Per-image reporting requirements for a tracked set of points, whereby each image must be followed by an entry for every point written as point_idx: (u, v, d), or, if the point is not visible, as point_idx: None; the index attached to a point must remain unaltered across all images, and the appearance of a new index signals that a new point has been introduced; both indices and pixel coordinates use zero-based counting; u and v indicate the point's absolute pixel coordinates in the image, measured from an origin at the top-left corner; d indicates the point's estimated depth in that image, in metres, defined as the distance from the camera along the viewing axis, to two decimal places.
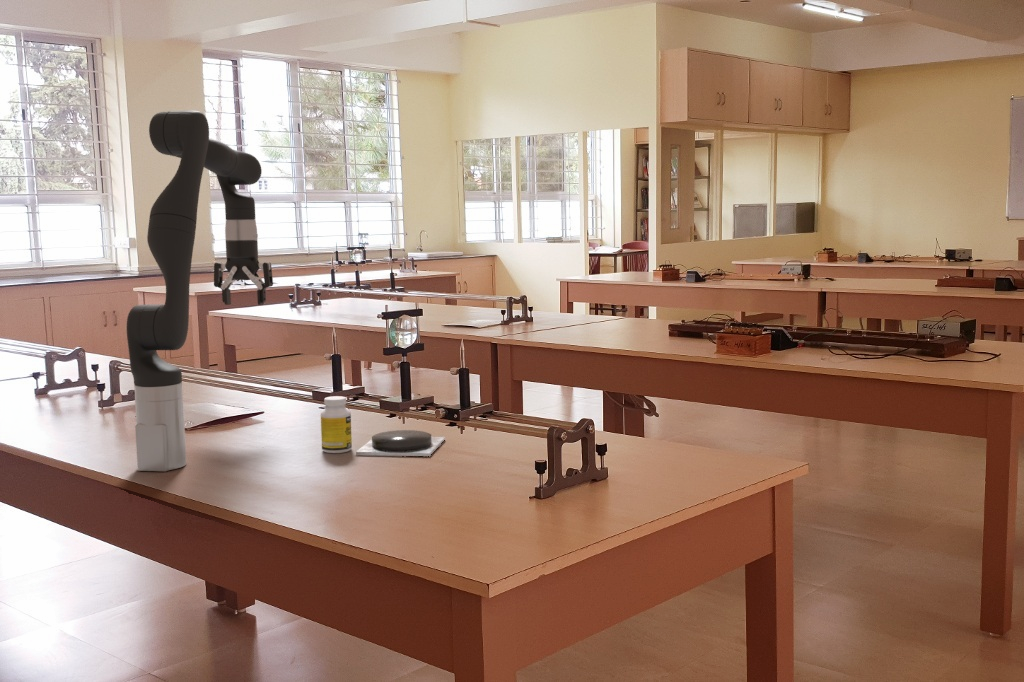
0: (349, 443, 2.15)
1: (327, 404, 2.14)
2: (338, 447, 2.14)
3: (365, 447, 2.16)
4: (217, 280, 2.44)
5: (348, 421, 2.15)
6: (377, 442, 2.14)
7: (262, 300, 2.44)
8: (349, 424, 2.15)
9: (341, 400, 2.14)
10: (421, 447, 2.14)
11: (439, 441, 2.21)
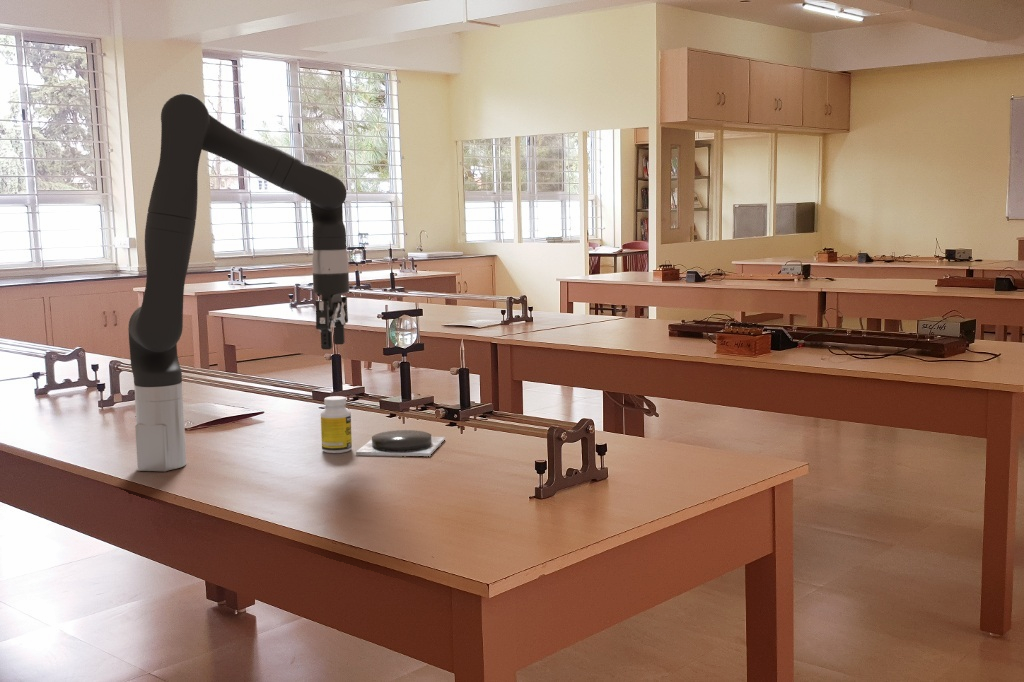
0: (349, 443, 2.15)
1: (327, 404, 2.14)
2: (338, 447, 2.14)
3: (365, 447, 2.16)
4: (328, 321, 2.07)
5: (348, 421, 2.15)
6: (377, 442, 2.14)
7: None
8: (349, 424, 2.15)
9: (341, 400, 2.14)
10: (421, 447, 2.14)
11: (439, 441, 2.21)
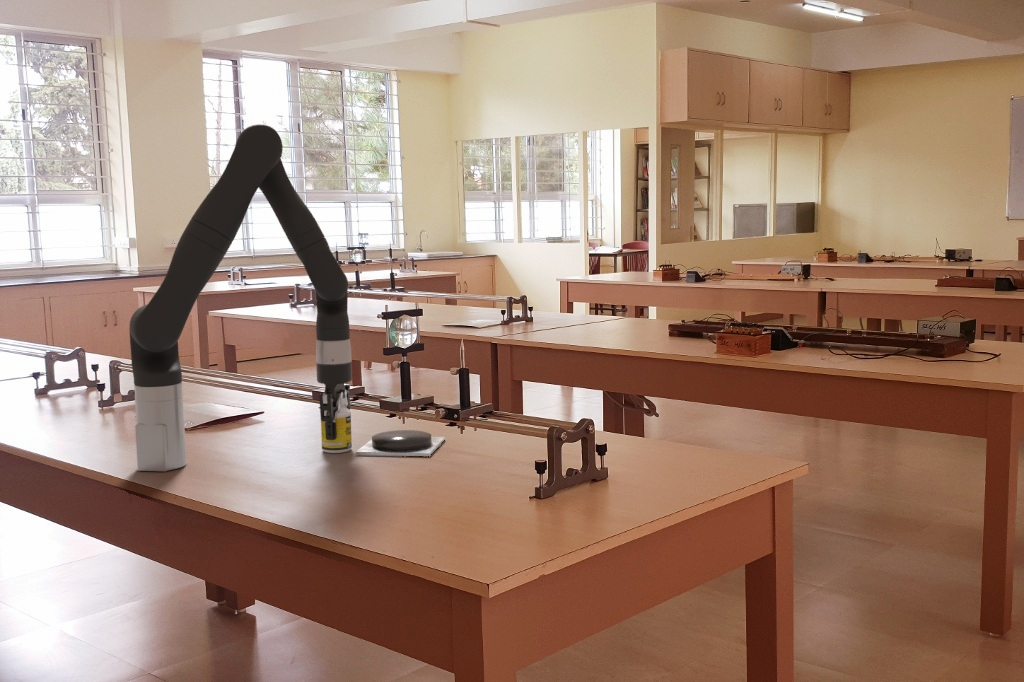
0: (349, 443, 2.15)
1: None
2: (338, 447, 2.14)
3: (365, 447, 2.16)
4: (332, 413, 2.10)
5: (348, 421, 2.15)
6: (377, 442, 2.14)
7: None
8: (349, 424, 2.15)
9: (341, 400, 2.14)
10: (421, 447, 2.14)
11: (439, 441, 2.21)
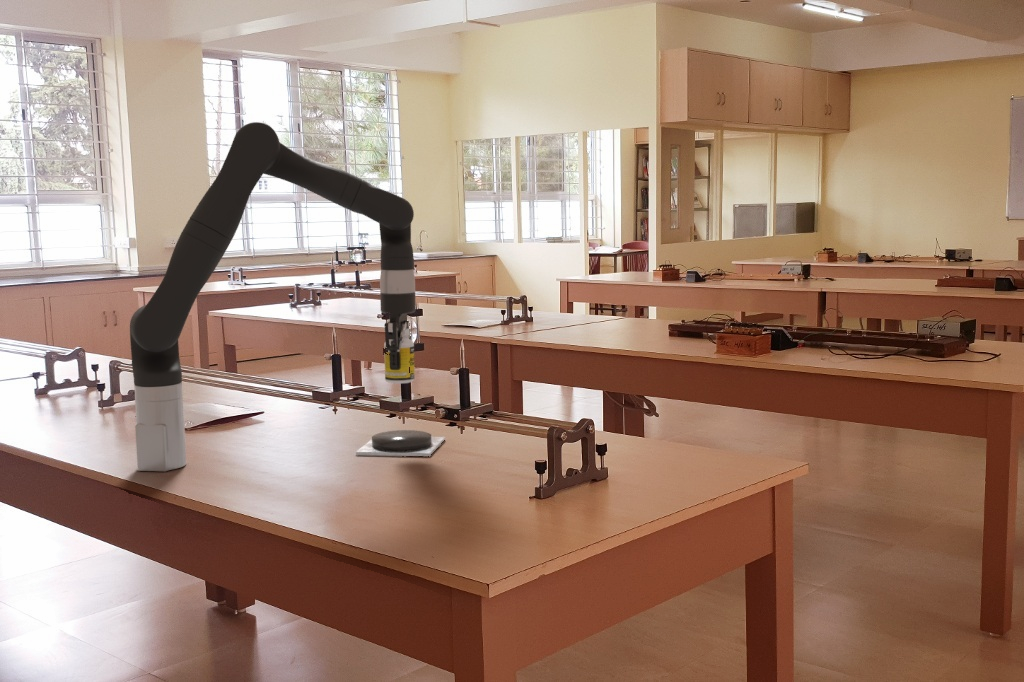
0: (412, 374, 2.16)
1: None
2: (402, 377, 2.14)
3: (365, 447, 2.16)
4: (397, 342, 2.10)
5: (412, 351, 2.15)
6: (377, 442, 2.14)
7: None
8: (412, 355, 2.15)
9: (405, 330, 2.14)
10: (421, 447, 2.14)
11: (439, 441, 2.21)
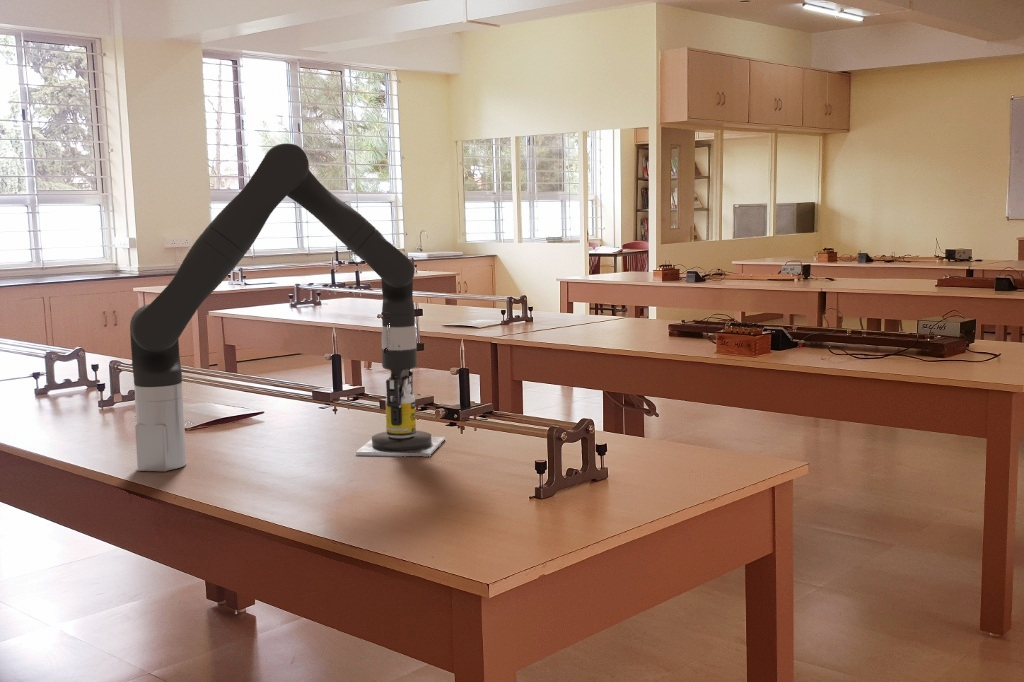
0: (414, 429, 2.17)
1: None
2: (403, 432, 2.15)
3: (365, 447, 2.16)
4: (399, 399, 2.12)
5: (413, 407, 2.16)
6: (377, 442, 2.14)
7: None
8: (414, 410, 2.17)
9: (406, 386, 2.16)
10: (421, 447, 2.14)
11: (439, 441, 2.21)
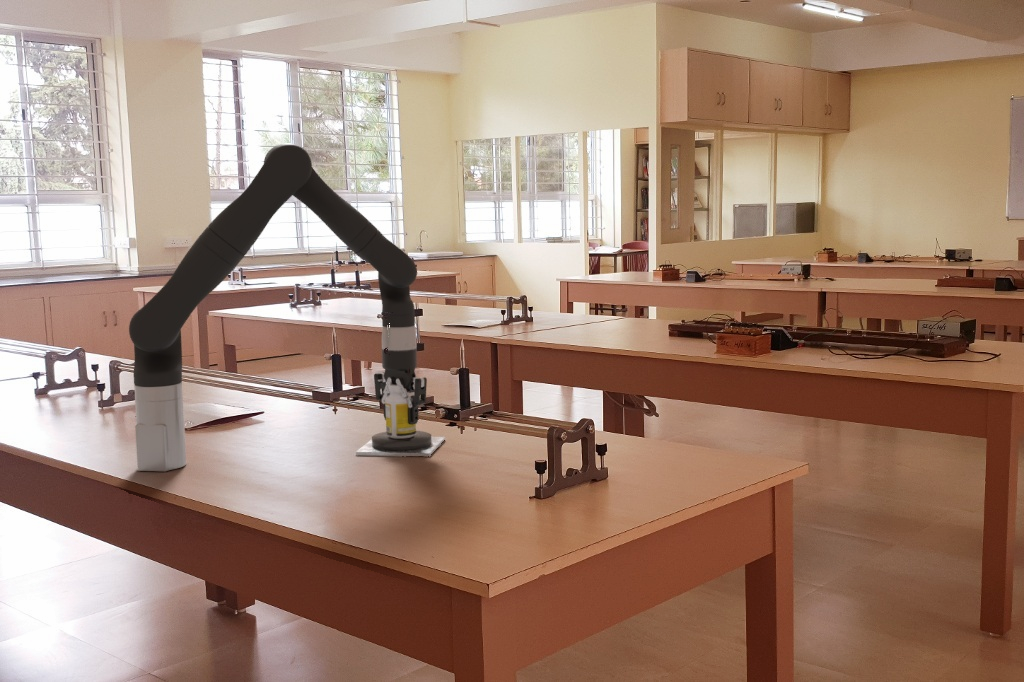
0: None
1: None
2: (414, 430, 2.18)
3: (365, 447, 2.16)
4: None
5: None
6: (377, 442, 2.14)
7: None
8: None
9: None
10: (421, 447, 2.14)
11: (439, 441, 2.21)
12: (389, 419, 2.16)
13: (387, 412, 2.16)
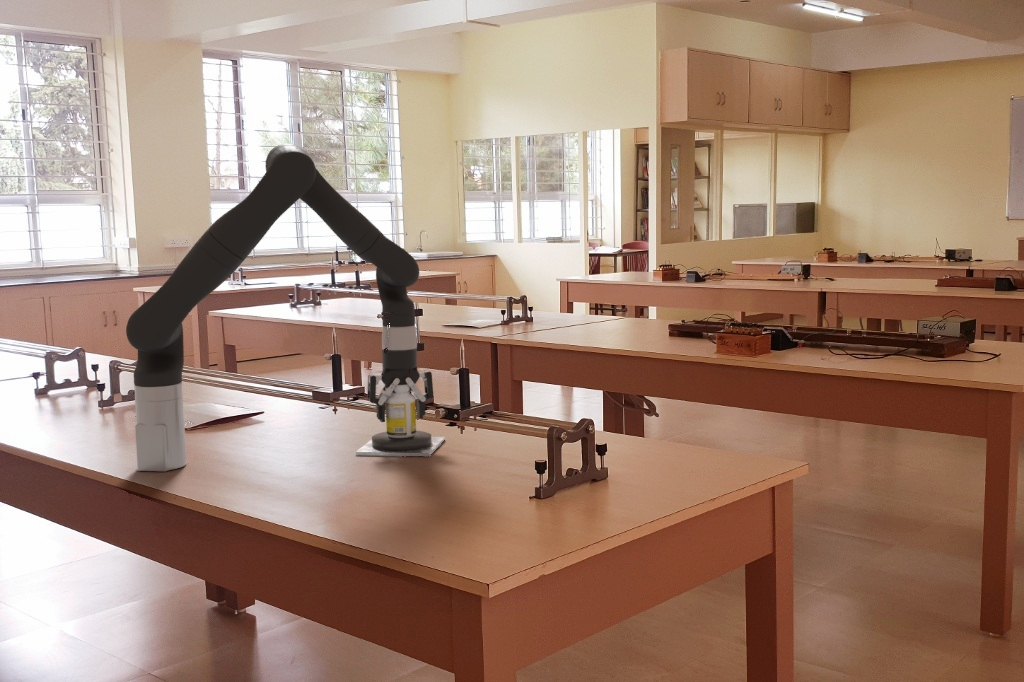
0: None
1: None
2: None
3: (365, 447, 2.16)
4: None
5: None
6: (377, 442, 2.14)
7: None
8: None
9: None
10: (421, 447, 2.14)
11: (439, 441, 2.21)
12: (403, 419, 2.16)
13: (400, 413, 2.15)
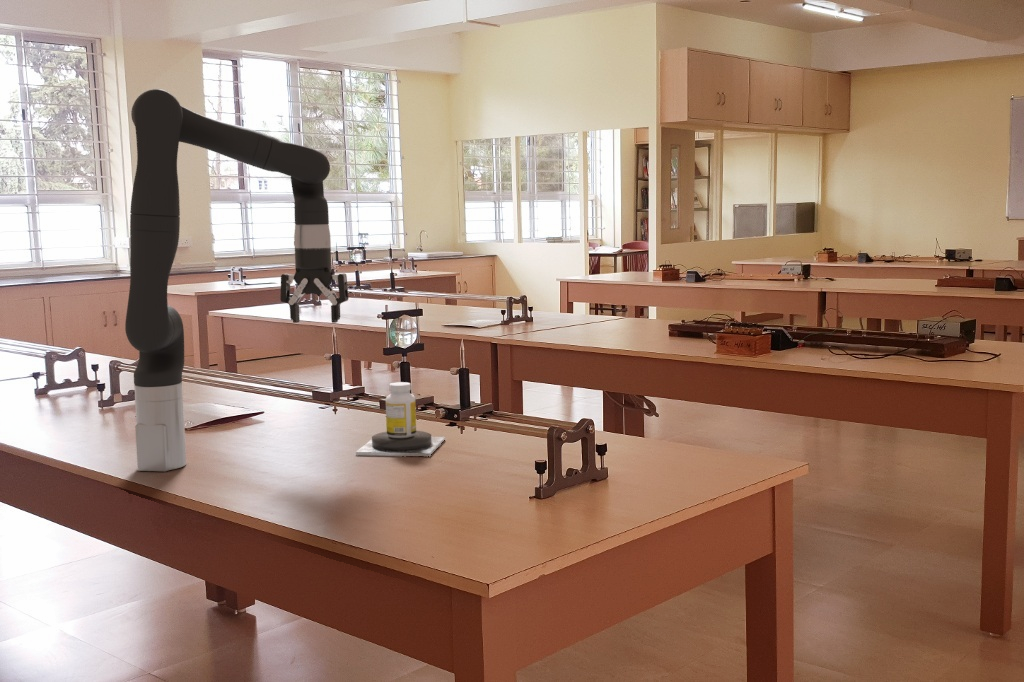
0: None
1: (410, 388, 2.17)
2: None
3: (365, 447, 2.16)
4: None
5: None
6: (377, 442, 2.14)
7: None
8: None
9: None
10: (421, 447, 2.14)
11: (439, 441, 2.21)
12: (403, 419, 2.16)
13: (400, 413, 2.15)
